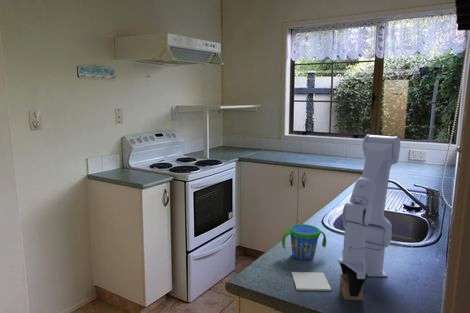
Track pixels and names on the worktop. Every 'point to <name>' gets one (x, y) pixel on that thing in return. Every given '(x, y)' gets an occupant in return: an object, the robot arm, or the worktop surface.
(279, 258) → the worktop surface
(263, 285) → the worktop surface
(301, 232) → the snack cup
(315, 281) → the cream tile
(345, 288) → the walnut block
